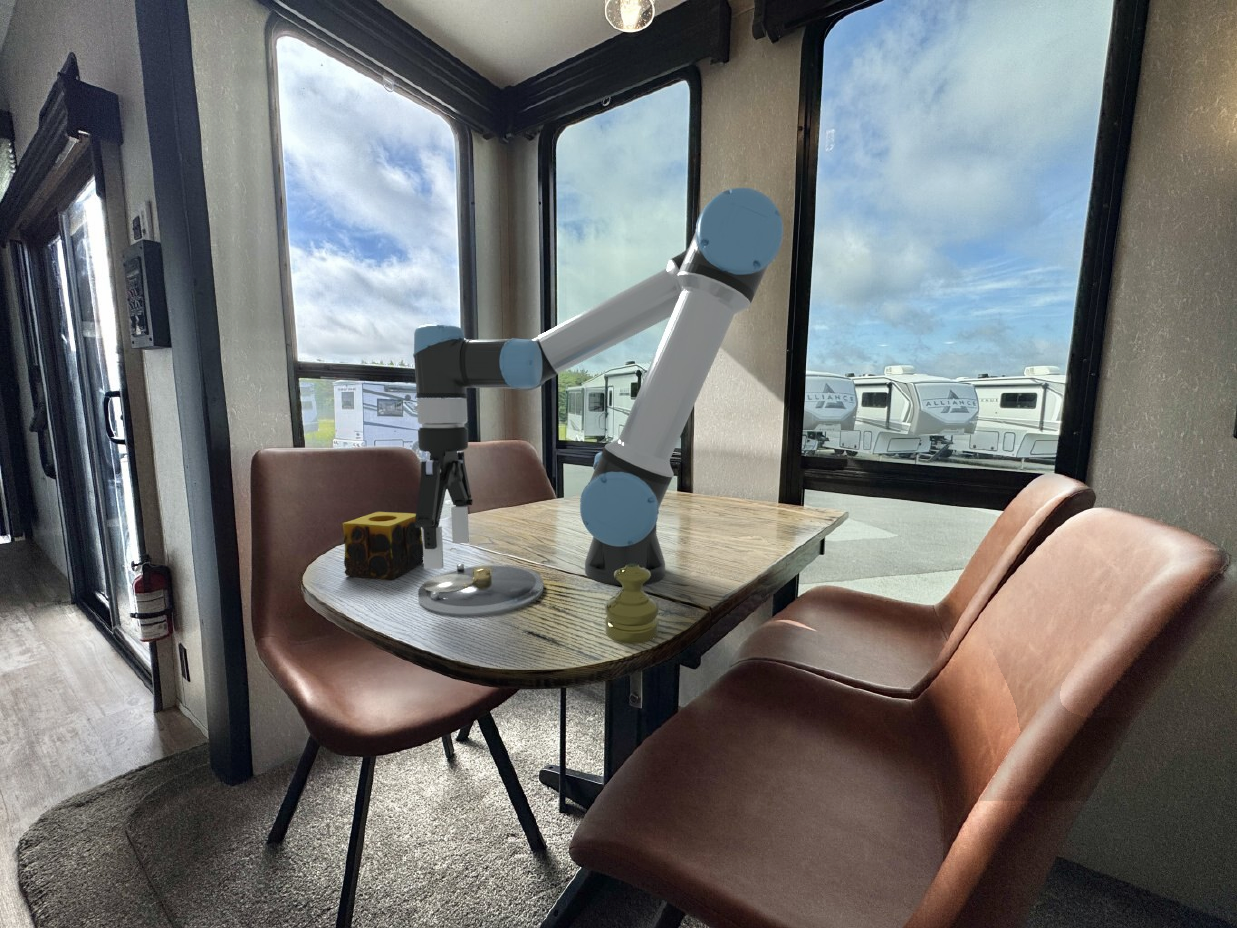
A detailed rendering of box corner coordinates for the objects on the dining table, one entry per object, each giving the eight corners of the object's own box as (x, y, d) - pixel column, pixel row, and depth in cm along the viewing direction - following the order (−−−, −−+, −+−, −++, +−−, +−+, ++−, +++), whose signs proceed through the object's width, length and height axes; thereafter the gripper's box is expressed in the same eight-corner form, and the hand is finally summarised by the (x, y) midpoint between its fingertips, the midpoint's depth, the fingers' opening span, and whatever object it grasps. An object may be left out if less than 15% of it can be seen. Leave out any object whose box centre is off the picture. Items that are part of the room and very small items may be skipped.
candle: (393, 581, 90) (390, 526, 88) (343, 577, 91) (339, 523, 90) (425, 563, 99) (423, 513, 98) (380, 559, 101) (377, 510, 100)
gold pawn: (669, 635, 70) (671, 565, 69) (632, 654, 65) (632, 578, 63) (631, 618, 75) (632, 553, 74) (593, 634, 70) (593, 564, 69)
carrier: (550, 571, 95) (549, 551, 94) (533, 618, 75) (532, 592, 74) (442, 571, 95) (442, 550, 94) (397, 617, 75) (395, 591, 74)
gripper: (445, 421, 93) (450, 533, 96) (384, 430, 69) (392, 581, 71) (486, 421, 93) (489, 533, 96) (439, 431, 69) (446, 581, 71)
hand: (448, 554), depth 84 cm, fingers open, 13 cm apart
